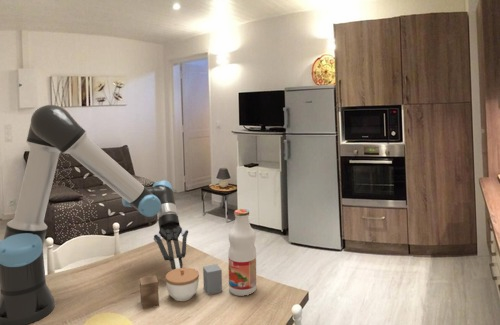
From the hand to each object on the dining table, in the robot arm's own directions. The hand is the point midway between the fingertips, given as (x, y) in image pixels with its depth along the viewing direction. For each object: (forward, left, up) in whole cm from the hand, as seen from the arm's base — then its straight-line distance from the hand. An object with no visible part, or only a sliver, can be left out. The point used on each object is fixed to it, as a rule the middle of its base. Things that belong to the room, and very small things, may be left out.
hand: (179, 277), depth 123 cm
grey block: (+10, -6, -4) cm, 13 cm away
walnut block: (-11, -6, -4) cm, 13 cm away
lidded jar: (0, -6, -4) cm, 8 cm away
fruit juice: (+20, -10, -4) cm, 23 cm away
